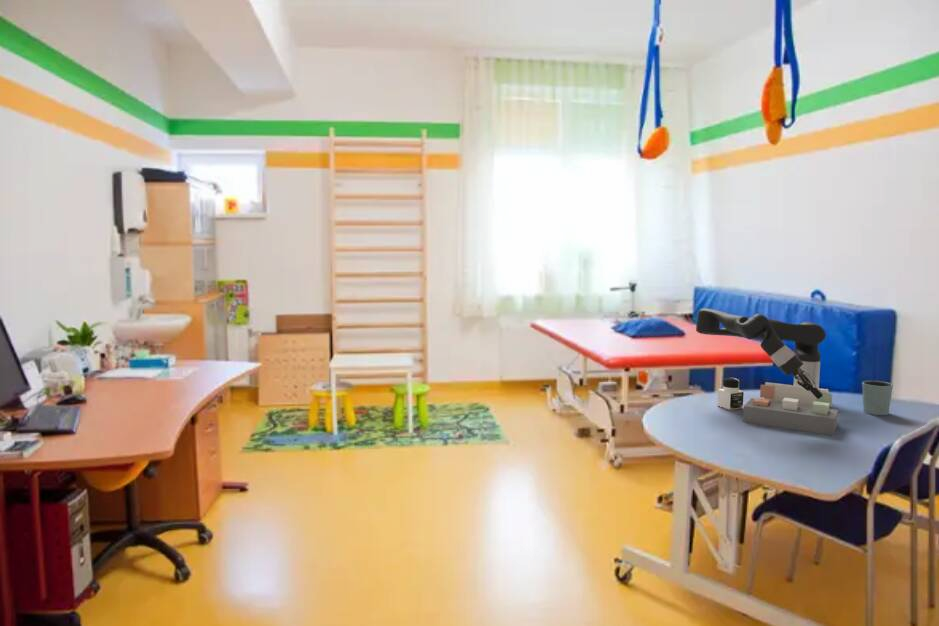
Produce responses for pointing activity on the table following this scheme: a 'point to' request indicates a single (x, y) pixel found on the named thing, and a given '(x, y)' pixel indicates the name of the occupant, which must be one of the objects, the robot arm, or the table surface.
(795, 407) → the cream small block
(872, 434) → the table surface
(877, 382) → the green cup
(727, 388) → the medicine bottle
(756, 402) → the terracotta key
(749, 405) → the key console
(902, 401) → the table surface
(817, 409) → the sage key
